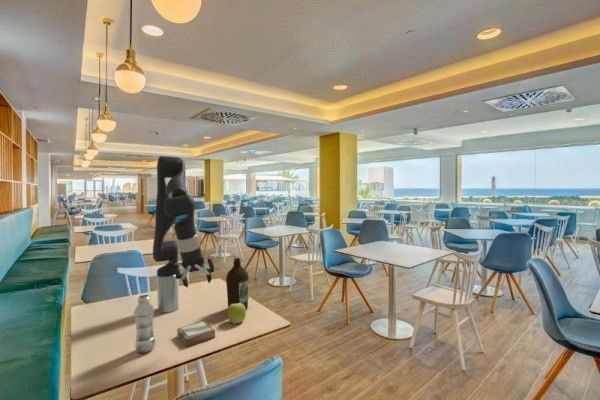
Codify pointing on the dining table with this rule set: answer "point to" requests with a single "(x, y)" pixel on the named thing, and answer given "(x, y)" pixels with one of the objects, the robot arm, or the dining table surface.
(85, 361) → the dining table surface
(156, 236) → the robot arm
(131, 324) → the dining table surface
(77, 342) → the dining table surface
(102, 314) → the dining table surface
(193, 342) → the walnut base
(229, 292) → the olive oil
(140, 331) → the plastic bottle
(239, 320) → the apple
